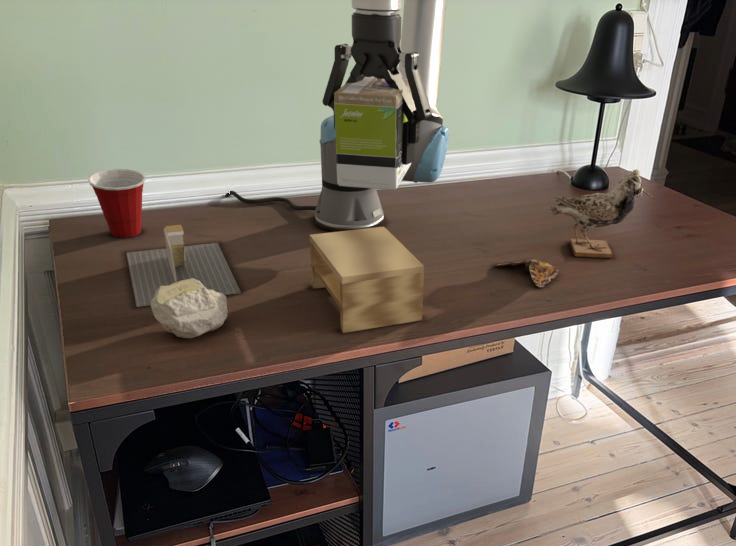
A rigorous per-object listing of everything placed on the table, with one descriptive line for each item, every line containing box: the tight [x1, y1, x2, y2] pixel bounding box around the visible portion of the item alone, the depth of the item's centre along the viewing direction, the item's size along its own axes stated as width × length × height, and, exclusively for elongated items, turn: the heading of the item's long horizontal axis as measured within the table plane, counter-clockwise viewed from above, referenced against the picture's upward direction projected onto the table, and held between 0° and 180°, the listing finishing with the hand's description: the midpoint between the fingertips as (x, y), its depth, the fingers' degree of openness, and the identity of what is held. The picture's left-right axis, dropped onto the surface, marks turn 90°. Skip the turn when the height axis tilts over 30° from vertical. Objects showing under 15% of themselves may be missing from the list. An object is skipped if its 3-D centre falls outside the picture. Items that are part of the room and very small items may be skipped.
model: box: [163, 224, 187, 281], centre depth 136 cm, size 3×11×8 cm, turn 23°
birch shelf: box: [308, 226, 425, 334], centre depth 127 cm, size 14×19×10 cm
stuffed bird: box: [548, 168, 653, 259], centre depth 151 cm, size 10×20×17 cm, turn 107°
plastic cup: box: [87, 168, 147, 238], centre depth 150 cm, size 11×11×12 cm
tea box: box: [334, 77, 412, 191], centre depth 120 cm, size 15×10×15 cm, turn 172°
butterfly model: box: [495, 258, 560, 288], centre depth 143 cm, size 9×12×3 cm
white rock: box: [149, 278, 229, 339], centre depth 117 cm, size 12×8×10 cm
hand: (375, 157), depth 122 cm, fingers closed on tea box, 11 cm apart
